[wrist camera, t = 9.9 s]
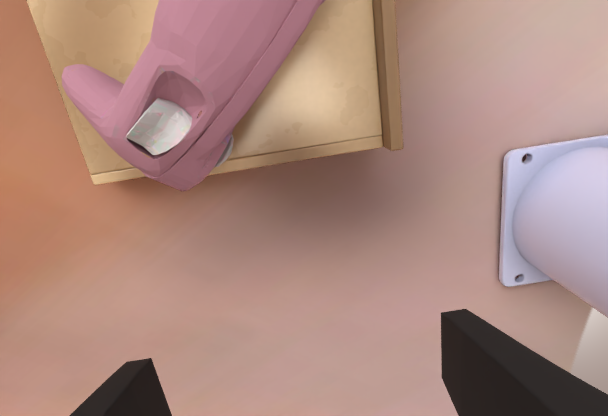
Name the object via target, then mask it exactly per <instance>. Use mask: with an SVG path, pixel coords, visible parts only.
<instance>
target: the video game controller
mask: <svg viewBox="0 0 608 416" xmlns="http://www.w3.org/2000/svg"><path fill="white" fill-rule="evenodd" d="M324 1H326V0H159V2H158V5H157V8H156V11H155V16H154V21H153V27H152V33H151V38H150V41H149V43H148V45H147V46H146V48H145V50H144V51H143V53H142V55H141V56H140V58H139V60H138V61H137V63H136V65H135V66H134V68H133V70H132V71H131V73H130V75H129V77H128V78H127V80H126V82H125V84H123V83H121V82H119V81H118V80H116V79H114V78H112V77H110V76H108V75H107V74H105V73H103V72H101V71H99V70H97V69H95V68H93V67H90V66H87V65H84V64H75V65H70V66H67V67H65V68H64V70H63V73H62V86H63V88H64V90H65V92H66V94H67V96H68V97H69V98H70V100H71V101H72V102H73V104H74V105H75V106H76V107H77V109H78V110H79V111H80V112H81V113H82V114H83V116H84V117H85V118H86V119H87V120H88V121H89V123H90V124H91V125H92V126H93V127H94V129H95V130H96V131H97V132H98V133H99V135H100V136H101V137H102V138H103V139H104V141H105V142H106V143H107V144H108V145H109V146H110V147H111V148H112V149H113V150H114V151H115V152H116V153H117V154H118V155H119V156H120V157H122V158H123V159H124V160H126V161H127V162H128V163H130V164H131V165H132V166H134V167H136V168H137V169H139V170H141V171H142V172H143V174H144V175H145V176H146V177H149V178H151V179H153V180H156V181H158V182H161V183H163V184H165V185H168V186H170V187H173V188H175V189H177V190H180V191H186V190H189V189H191V188H192V187H194V186H195V185H197V184H198V183H200V182H201V181H203V179H204V178H205V177H206V176H207V175H208V174H209V173H210V172H211V170H212V169H213V168H214V167H219V166H220V165H221V164H222V163H223V162H225V161H226V160H227V158H228V157H229V156H230V154H231V152H232V147H233V140H234V139H233V135H232V132H233V130H234V127H235V125H236V124H237V123H238V122H239V121H240V120H241V118H242V117H243V116H244V115H245V114H246V113H247V111H248V110H249V109H250V108H251V106H252V105H253V103H254V102H255V101H256V99H257V98H258V97H259V95H260V94H261V92H262V91H263V90H264V88H265V87H266V86H267V84H268V83H269V82H270V80H271V79H272V77H273V76H274V75H275V73H276V72H277V71H278V69H279V68H280V66H281V65H282V63H283V62H284V60H285V59H286V57H287V56H288V54H289V53H290V51H291V50H292V48H293V47H294V45H295V44H296V42H297V41H298V39H299V38H300V36H301V35H302V33H303V32H304V30H305V29H306V27H307V26H308V24H309V22H310V21H311V19H312V17H313V15H314V14H315V12H316V10H317V9H318V7H319V6H320V5H321V4H322V3H323V2H324Z"/></svg>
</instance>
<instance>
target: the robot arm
mask: <svg viewBox="0 0 608 416" xmlns="http://www.w3.org/2000/svg"><path fill="white" fill-rule="evenodd" d="M525 154H527V158H526V160H525V161H524V162H522V158H523V156H524V155H525ZM519 274H520V275H519ZM517 275H519V277H518V278H516V276H517ZM515 278H516V279H515ZM549 280H554V281H556V282H557V283H559V284H560V285H562V286H563V287H565V288H566V289H567V290H569V291H570V292H572V293H573V294H575V295H576V296H577V297H579V298H580V299H582V300H583V301H585V302H586V303H588V304H589V305H590V306H592V307H593V308H595V309H596V310H598V311H599V312H600V313H602V314H603V315H605V316H606V317H608V134H607V135H600V136H594V137H588V138H582V139H576V140H569V141H563V142H557V143H551V144H544V145H538V146H532V147H526V148H520V149H513V150H511V151H509V152H508V153H507V154H506V155H505V157H504V161H503V185H502V210H501V235H500V260H499V281H500V282H501V283H502V284H503V285H504V286H506V287H512V286H518V285H524V284H530V283H537V282H543V281H549ZM441 348H442V379H443V381H444V384H445V386H446V388H447V390H448V393H449V395H450V397H451V400H452V402H453V404H454V406H455V409H456V411H457V413H458V415H459V416H608V395H607V394H606V393H604V392H602V391H600V390H598V389H596V388H595V387H593V386H591V385H589V384H588V383H586V382H584V381H582V380H581V379H579V378H577V377H575V376H573V375H572V374H570V373H569V372H567V371H565V370H563V369H562V368H560V367H558V366H557V365H555V364H553V363H552V362H550V361H548V360H547V359H545V358H543V357H542V356H540V355H539V354H537V353H535V352H534V351H532V350H530V349H529V348H527V347H526V346H524V345H522V344H521V343H519V342H518V341H516V340H514V339H513V338H511V337H510V336H508V335H507V334H505V333H503V332H502V331H500V330H499V329H497V328H495V327H494V326H492V325H491V324H489V323H488V322H486V321H484V320H483V319H481V318H480V317H478V316H476V315H475V314H473V313H472V312H470V311H468V310H466V309H462V310H456V311H449V312H443V313H441ZM70 416H172V415H171V412H170V409H169V406H168V403H167V401H166V398H165V395H164V392H163V390H162V387H161V384H160V381H159V379H158V376H157V373H156V370H155V367H154V365H153V362H152V359H151V358H149V359H143V360H137V361H130V362H126V363H125V364H124V365H123V366H121V367H120V368H119V369H118V370H117V371H116V372H115V373H114V374H113V375H111V376H110V377H109V378H108V379H107V380H106V381H105V382H104V383H103V384H102V385H101V386H100V387H99V388H98V389H97V390H96V391H95V392H94V393H93V394H92V395H90V396H89V397H88V398H87V399H86V400H85V401H84V402H83V403H82V404H81V405H80V406H79V407H78V408H77V409H76V410H75V411H74V412H73V413H72V414H71V415H70Z"/></svg>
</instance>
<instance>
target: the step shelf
mask: <svg viewBox="0 0 608 416" xmlns="http://www.w3.org/2000/svg"><path fill="white" fill-rule="evenodd" d="M26 1H27V4H28V6H29V9H30V12H31V15H32V17H33V20H34V23H35V25H36V28H37V31H38V34H39V36H40V39H41V42H42V45H43V47H44V50H45V53H46V55H47V58H48V61H49V64H50V66H51V69H52V72H53V75H54V77H55V80H56V83H57V86H58V88H59V91H60V94H61V96H62V99H63V102H64V105H65V107H66V110H67V113H68V116H69V118H70V121H71V124H72V126H73V129H74V132H75V135H76V137H77V140H78V143H79V146H80V148H81V151H82V154H83V157H84V159H85V162H86V165H87V167H88V170H89V173H90V174H92V175H91V179H92V182H93V184H94V185H100V184H106V183H112V182H119V181H125V180H131V179H137V178H143V177H146V176H145V175H144V174H143V172H142V171H141V170H139V169H137V168H136V167H134V166H132V165H131V164H130V163H128V162H127V161H126V160H124V159H123V158H122V157H120V156H119V155H118V154H117V153H116V152H115V151H114V150H113V149H112V148H111V147H110V146H109V145H108V144H107V143H106V142H105V141H104V139H103V138H102V137H101V136H100V135H99V133H98V132H97V131H96V130H95V129H94V127H93V126H92V125H91V124H90V123H89V121H88V120H87V119H86V118H85V117H84V116H83V114H82V113H81V112H80V111H79V110H78V109H77V107H76V106H75V105H74V104H73V102H72V101H71V100H70V98H69V97H68V96H67V94H66V92H65V90H64V88H63V86H62V73H63V70H64V68H65V67H67V66H70V65H75V64H84V65H87V66H90V67H93V68H95V69H97V70H99V71H101V72H103V73H105V74H107V75H108V76H110V77H112V78H114V79H116V80H118V81H119V82H121V83H123V84H125V82H126V80H127V78H128V77H129V75H130V73H131V71H132V70H133V68H134V66H135V65H136V63H137V61H138V60H139V58H140V56H141V55H142V53H143V51H144V50H145V48H146V46H147V45H148V43H149V41H150V38H151V33H152V27H153V21H154V16H155V11H156V8H157V5H158V2H159V0H26ZM232 135H233V139H234V140H233V147H232V152H231V154H230V156H229V157H228V158H227V160H226V161H225V162H223V163H222V164H221V165H220V166H219V167H214V168H213V169H212V170H211V172H210V173H209V174H208V175H214V174H220V173H227V172H233V171H239V170H245V169H252V168H258V167H264V166H270V165H276V164H283V163H289V162H295V161H301V160H307V159H314V158H320V157H326V156H332V155H338V154H345V153H351V152H357V151H363V150H370V149H376V148H382V147H385V148H387V149H389V150H391V151H395V150H401V149H403V131H402V114H401V96H400V78H399V60H398V43H397V25H396V7H395V0H326V1H324V2H323V3H322V4H321V5H320V6H319V7H318V9H317V10H316V12H315V14H314V15H313V17H312V19H311V21H310V22H309V24H308V26H307V27H306V29H305V30H304V32H303V33H302V35H301V36H300V38H299V39H298V41H297V42H296V44H295V45H294V47H293V48H292V50H291V51H290V53H289V54H288V56H287V57H286V59H285V60H284V62H283V63H282V65H281V66H280V68H279V69H278V71H277V72H276V73H275V75H274V76H273V77H272V79H271V80H270V82H269V83H268V84H267V86H266V87H265V88H264V90H263V91H262V92H261V94H260V95H259V97H258V98H257V99H256V101H255V102H254V103H253V105H252V106H251V108H250V109H249V110H248V111H247V113H246V114H245V115H244V116H243V117H242V118H241V120H240V121H239V122H238V123H237V124H236V125H235V127H234V130H233V132H232ZM208 175H207V176H208Z"/></svg>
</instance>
